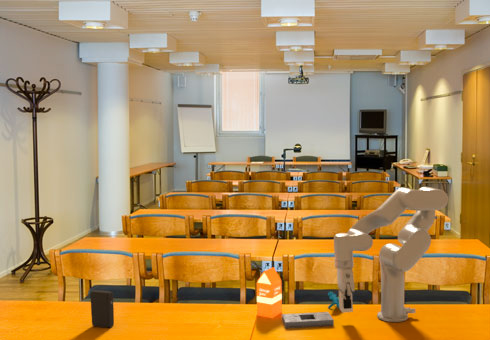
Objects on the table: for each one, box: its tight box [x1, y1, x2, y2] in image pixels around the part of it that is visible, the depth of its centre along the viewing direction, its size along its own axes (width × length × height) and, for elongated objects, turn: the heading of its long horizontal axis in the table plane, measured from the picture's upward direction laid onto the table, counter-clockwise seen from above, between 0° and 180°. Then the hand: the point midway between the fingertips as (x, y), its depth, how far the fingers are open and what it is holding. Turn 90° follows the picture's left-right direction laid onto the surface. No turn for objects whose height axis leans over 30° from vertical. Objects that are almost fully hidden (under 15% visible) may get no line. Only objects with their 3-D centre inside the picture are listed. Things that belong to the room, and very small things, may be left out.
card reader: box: [90, 289, 115, 328], centre depth 252 cm, size 9×4×15 cm, turn 71°
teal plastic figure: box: [327, 291, 339, 309], centre depth 269 cm, size 11×6×10 cm
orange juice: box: [256, 266, 283, 319], centre depth 263 cm, size 8×9×20 cm
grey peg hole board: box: [281, 311, 335, 329], centre depth 251 cm, size 20×10×2 cm, turn 95°
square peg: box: [338, 289, 354, 313], centre depth 250 cm, size 4×4×8 cm
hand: (345, 305), depth 251 cm, fingers closed on square peg, 4 cm apart
